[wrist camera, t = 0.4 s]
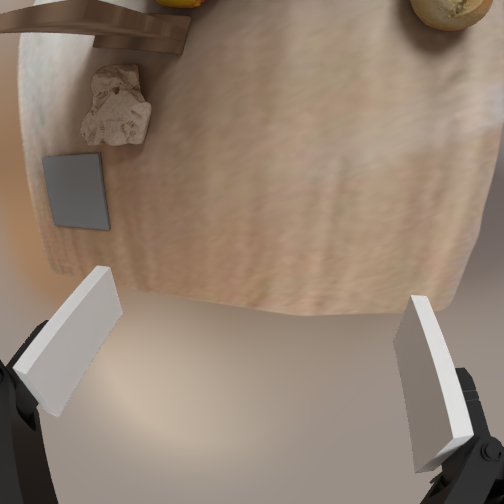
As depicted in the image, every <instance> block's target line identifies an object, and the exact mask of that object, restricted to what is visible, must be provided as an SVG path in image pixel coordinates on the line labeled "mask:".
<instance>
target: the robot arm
mask: <svg viewBox="0 0 504 504" xmlns="http://www.w3.org/2000/svg"><path fill="white" fill-rule="evenodd" d="M122 314H123V311H122V308H121V304H120V301H119V298H118V294H117V291H116V287H115V283H114V280H113V276H112V272H111V268H110V267H105V266H96V267H95V268H94V269H93V271H92V272H91V273H90V274H89V275H88V276H87V277H86V278H85V279H84V280H83V282H82V283H81V284H80V285H79V286H78V287H77V288H76V289H75V291H74V292H73V293H72V294H71V295H70V297H69V298H68V299H67V300H66V301H65V302H64V303H63V305H62V306H61V307H60V308H59V309H58V311H57V312H56V313H55V314H54V315H53V317H52V318H51V319H50V320H46V321H44V322H43V323H41V324H40V325H39V326H37V327H36V328H35V330H34V331H33V332H32V333H31V334H30V337H28V338H27V339H26V341H25V343H23V345H22V346H21V347H20V348H19V350H18V351H17V352H16V354H15V355H14V356H13V358H12V359H11V360H10V362H9V363H8V364H7V366H6V367H5V366H4V364H3V363H2V362H1V360H0V504H58V501H57V497H56V494H55V490H54V486H53V483H52V479H51V475H50V471H49V467H48V462H47V458H46V453H45V448H44V443H43V437H42V431H41V425H40V418H39V413H38V410H37V408H36V407H37V405H38V404H40V405H41V407H42V408H43V409H44V410H45V411H46V412H48V413H50V414H52V415H54V416H56V417H59V416H60V415H61V413H62V411H63V409H64V408H65V405H66V404H67V402H68V401H69V399H70V397H71V395H72V394H73V392H74V390H75V389H76V387H77V385H78V384H79V382H80V380H81V378H82V377H83V375H84V374H85V372H86V370H87V368H88V367H89V365H90V363H91V362H92V360H93V359H94V357H95V356H96V354H97V353H98V351H99V349H100V348H101V346H102V345H103V343H104V342H105V340H106V338H107V337H108V335H109V334H110V332H111V330H112V329H113V327H114V326H115V325H116V323H117V322H118V320H119V318H120V317H121V315H122ZM393 345H394V349H395V353H396V358H397V363H398V367H399V372H400V377H401V382H402V387H403V393H404V398H405V403H406V409H407V416H408V422H409V429H410V436H411V443H412V451H413V459H414V469H415V473H421V472H428V471H434V470H435V469H436V468H437V467H438V466H440V465H442V472H441V473H440V474H438V475H437V476H436V477H435V478H433V479H432V480H431V481H430V483H431V484H432V483H433V482H434V484H433V486H432V487H431V488H430V490H429V491H428V493H427V494H426V496H425V497H424V499H423V500H422V502H421V503H420V504H504V447H503V446H502V444H501V442H500V441H499V440H498V439H496V438H494V437H491V436H490V433H489V430H488V426H487V423H486V419H485V416H484V412H483V409H482V406H481V402H480V401H479V396H478V393H477V391H476V387H475V384H474V382H473V379H472V377H471V375H470V374H469V373H468V372H467V370H466V369H465V368H454V365H453V363H452V360H451V357H450V354H449V351H448V348H447V346H446V343H445V340H444V338H443V335H442V333H441V330H440V327H439V325H438V323H437V320H436V318H435V315H434V313H433V310H432V308H431V305H430V303H429V301H428V298H427V296H415V295H411V296H410V299H409V302H408V304H407V307H406V310H405V312H404V315H403V318H402V320H401V323H400V326H399V328H398V331H397V333H396V335H395V338H394V340H393Z"/></svg>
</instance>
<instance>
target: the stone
mask: <svg viewBox="0 0 504 504" xmlns="http://www.w3.org/2000/svg"><path fill="white" fill-rule="evenodd" d="M91 90H92V93H93V99H92V106H91V110H90V111H89V112H88V113H87V114H86V115H85V117H84V119H83V120H82V122H81V127H80V132H81V135H82V137H83V138H85V140H86V142H87V145H88V146H93V145H102V144H108V145H111V146H120V145H125V144H130V143H131V144H143V142H144V138H145V136H146V132H147V127H148V124H149V121H150V117H151V112H152V110H151V108H152V106H151V104H150V103H148V102H145V100H144V98H143V96H142V95H141V92H140V83H139V73H138V66H137V64H133V65H130V64H128V65H123V66H120V65H111V66H105V67H102V68H100V69H99V70H97V72H96V73H95V74H94V75H93V77H92V80H91Z"/></svg>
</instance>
